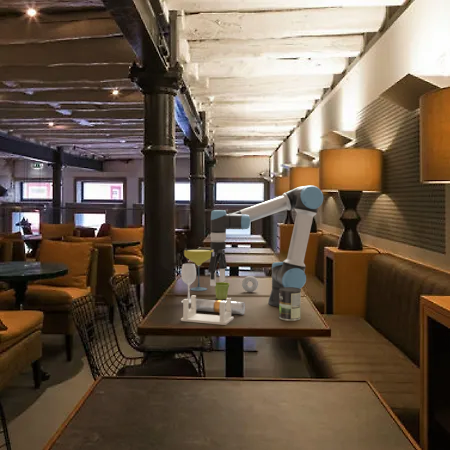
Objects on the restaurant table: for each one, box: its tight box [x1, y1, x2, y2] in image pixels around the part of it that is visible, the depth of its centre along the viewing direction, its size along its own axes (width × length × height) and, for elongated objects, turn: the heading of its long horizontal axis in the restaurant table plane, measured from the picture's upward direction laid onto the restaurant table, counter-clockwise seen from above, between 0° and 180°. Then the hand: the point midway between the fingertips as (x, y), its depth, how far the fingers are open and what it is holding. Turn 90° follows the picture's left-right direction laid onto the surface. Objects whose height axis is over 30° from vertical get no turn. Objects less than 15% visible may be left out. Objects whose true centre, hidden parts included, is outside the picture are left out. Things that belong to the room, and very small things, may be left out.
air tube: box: [196, 298, 246, 315], centre depth 243 cm, size 26×6×6 cm, turn 71°
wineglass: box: [180, 263, 197, 305], centre depth 268 cm, size 9×9×21 cm
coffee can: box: [278, 287, 302, 322], centre depth 232 cm, size 10×10×14 cm
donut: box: [241, 275, 259, 293], centre depth 298 cm, size 10×3×10 cm, turn 88°
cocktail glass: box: [183, 248, 214, 292], centre depth 306 cm, size 18×18×25 cm
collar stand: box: [180, 294, 235, 326], centre depth 229 cm, size 22×12×10 cm, turn 71°
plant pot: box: [213, 281, 231, 301], centre depth 278 cm, size 9×9×9 cm
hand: (217, 283), depth 242 cm, fingers open, 13 cm apart
